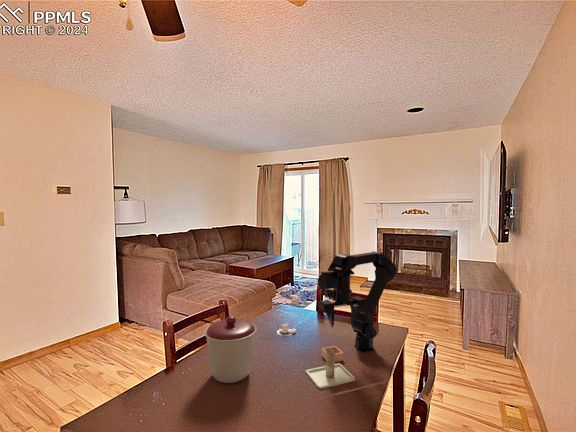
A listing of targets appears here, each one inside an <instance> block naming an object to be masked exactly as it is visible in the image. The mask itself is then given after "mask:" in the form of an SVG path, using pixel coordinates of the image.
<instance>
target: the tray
mask: <svg viewBox="0 0 576 432" xmlns="http://www.w3.org/2000/svg"><path fill="white" fill-rule="evenodd" d="M304 372H305V374H306V375H307V376H308V377H309V379H310V380H311V381H312V382H313V383H314V386H316V387H317V388H318V390H323V389H327V388H330V387H335V386H336V387H337V386H339V385H340V386H341V385H342V384H343V385H344V384H347V383H352V382H356V381H357V378H356V377H355V375H353V374H352V373H351V372H350V371H349V370H348V369H346V367H345V366H344V365H342V364H341V363H340V362H336V363H335V369H334V378H331V379H330V378H327V377H326V365H324V366H320V367H319V366H318V367H314V368H310V369H305V371H304Z"/></svg>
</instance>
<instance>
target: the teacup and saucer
mask: <svg viewBox="0 0 576 432" xmlns="http://www.w3.org/2000/svg"><path fill="white" fill-rule="evenodd" d="M280 332H282V333H283V334H281V333H280ZM296 332H297V329H296V328H289V324H288V323H282V324H280V325H279V329H278V330H276V334H277V335H278V336H282V337H288V336H292V335H293V334H295V333H296ZM288 333H289V334H288Z"/></svg>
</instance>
